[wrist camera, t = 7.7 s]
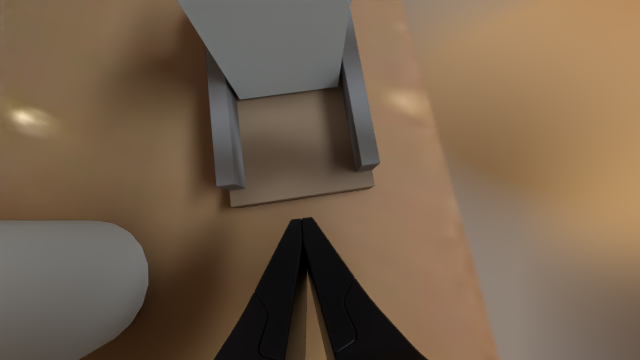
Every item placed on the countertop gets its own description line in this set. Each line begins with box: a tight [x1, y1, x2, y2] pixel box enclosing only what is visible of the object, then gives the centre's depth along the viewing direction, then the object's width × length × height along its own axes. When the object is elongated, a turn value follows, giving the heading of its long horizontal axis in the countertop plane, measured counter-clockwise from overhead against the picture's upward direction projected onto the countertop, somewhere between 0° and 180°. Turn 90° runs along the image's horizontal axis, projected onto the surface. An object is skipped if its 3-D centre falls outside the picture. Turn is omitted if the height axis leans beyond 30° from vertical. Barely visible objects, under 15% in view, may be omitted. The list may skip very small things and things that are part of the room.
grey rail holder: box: [205, 11, 380, 208], centre depth 16 cm, size 16×9×4 cm, turn 8°
